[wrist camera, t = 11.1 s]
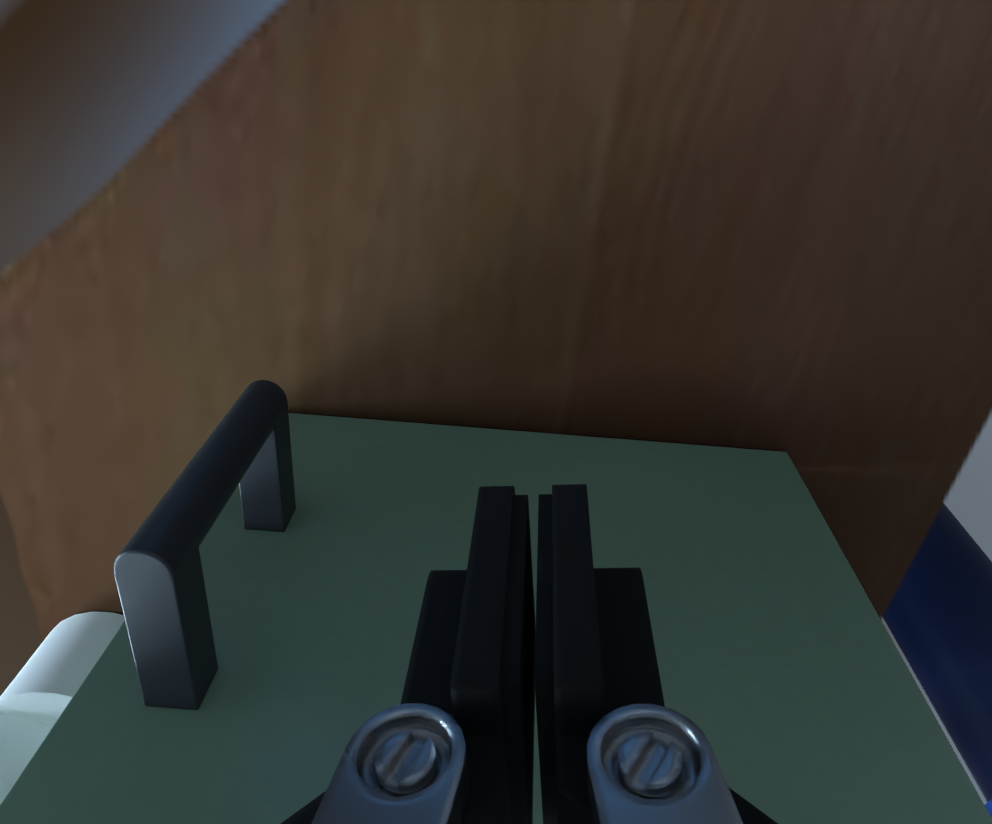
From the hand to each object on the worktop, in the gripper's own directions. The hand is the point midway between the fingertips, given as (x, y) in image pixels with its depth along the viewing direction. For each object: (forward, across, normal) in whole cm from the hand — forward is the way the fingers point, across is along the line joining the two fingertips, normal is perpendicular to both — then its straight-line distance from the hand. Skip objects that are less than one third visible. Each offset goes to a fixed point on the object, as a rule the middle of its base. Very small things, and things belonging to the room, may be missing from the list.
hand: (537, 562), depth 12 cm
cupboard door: (+23, +1, +8) cm, 25 cm away
